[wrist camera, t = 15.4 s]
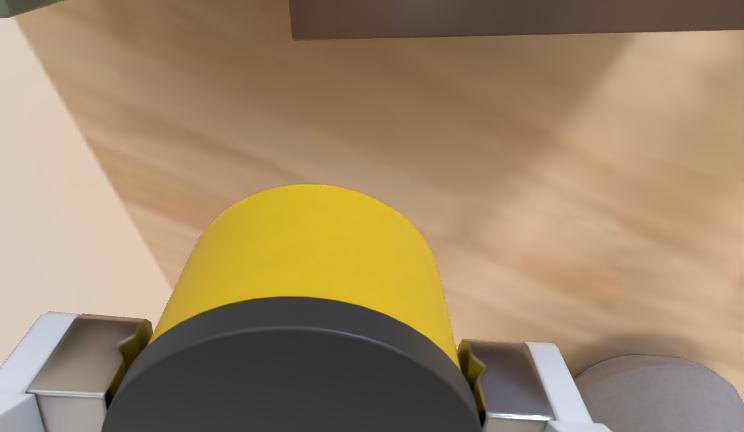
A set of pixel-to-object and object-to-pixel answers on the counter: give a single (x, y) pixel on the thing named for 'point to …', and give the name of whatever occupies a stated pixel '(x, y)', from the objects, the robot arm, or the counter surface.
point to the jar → (301, 327)
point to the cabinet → (506, 17)
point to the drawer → (22, 6)
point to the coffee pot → (659, 396)
